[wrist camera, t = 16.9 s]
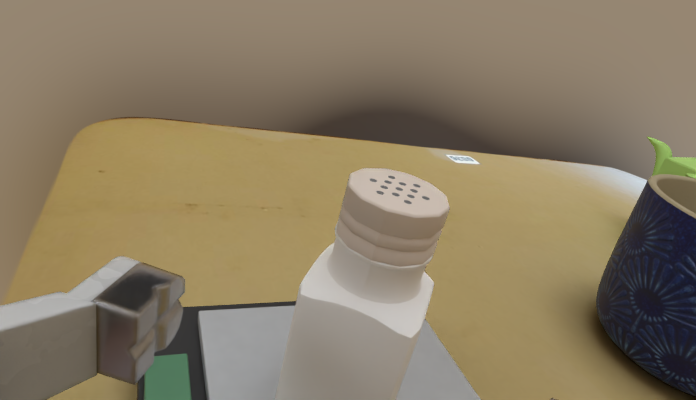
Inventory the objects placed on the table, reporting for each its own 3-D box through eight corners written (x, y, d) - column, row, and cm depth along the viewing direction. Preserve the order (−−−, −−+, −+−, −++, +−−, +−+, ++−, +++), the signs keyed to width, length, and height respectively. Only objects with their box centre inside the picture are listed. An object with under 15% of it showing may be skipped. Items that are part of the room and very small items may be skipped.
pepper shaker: (394, 391, 20) (469, 188, 16) (368, 473, 16) (456, 239, 12) (307, 353, 21) (357, 151, 17) (264, 425, 17) (314, 189, 13)
